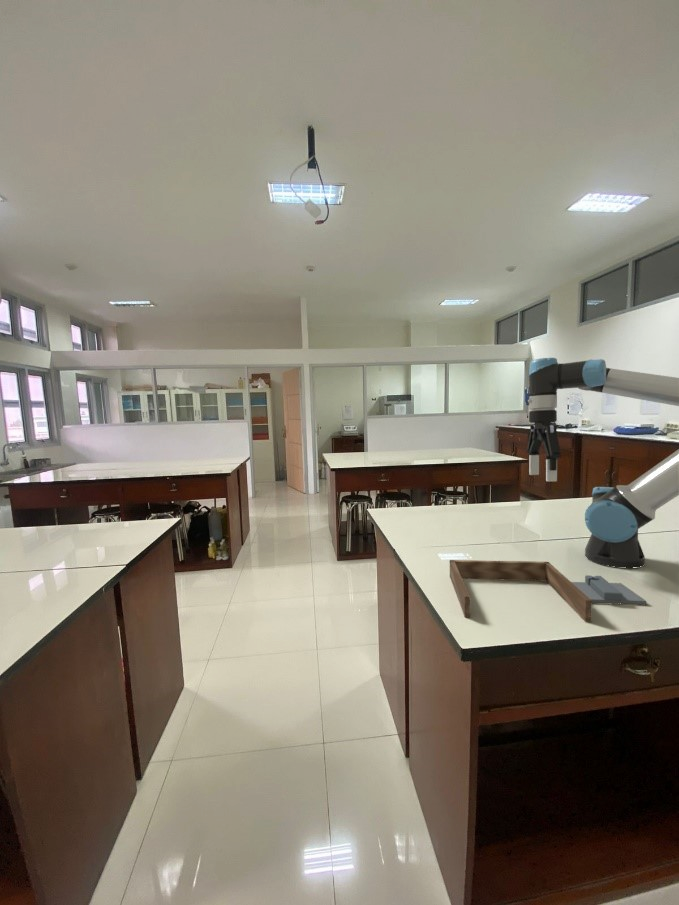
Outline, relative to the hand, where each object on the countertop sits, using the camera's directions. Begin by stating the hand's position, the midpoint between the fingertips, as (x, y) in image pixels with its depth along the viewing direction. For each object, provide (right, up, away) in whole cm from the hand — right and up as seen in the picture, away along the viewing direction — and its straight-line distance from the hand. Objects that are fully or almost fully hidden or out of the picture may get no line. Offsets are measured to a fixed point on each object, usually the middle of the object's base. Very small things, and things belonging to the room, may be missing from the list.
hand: (542, 477), depth 116 cm
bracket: (+3, -28, -22) cm, 35 cm away
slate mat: (+4, -28, -22) cm, 36 cm away
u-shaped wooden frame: (-20, -29, -21) cm, 41 cm away
